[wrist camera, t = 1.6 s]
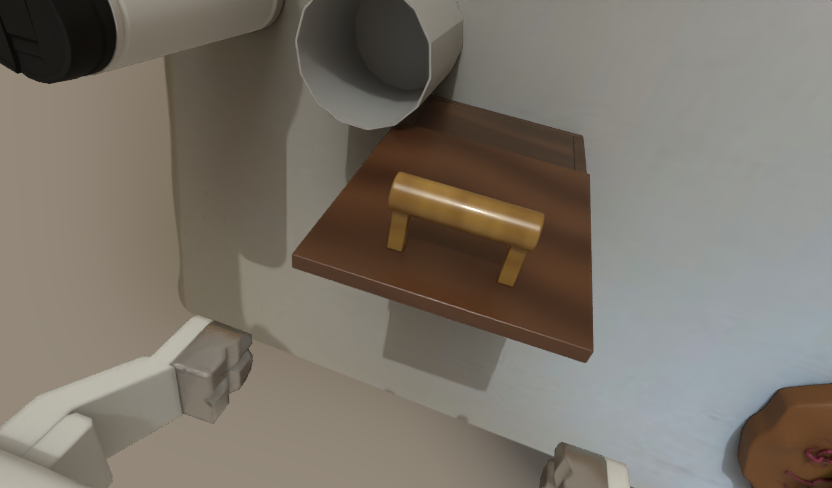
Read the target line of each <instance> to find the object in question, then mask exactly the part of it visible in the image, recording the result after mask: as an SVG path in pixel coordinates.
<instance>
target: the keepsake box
mask: <svg viewBox="0 0 832 488" xmlns="http://www.w3.org/2000/svg"><path fill="white" fill-rule="evenodd" d="M401 122H404V123H408V124H411V125H415V126H418V127H422V128H426V129H429V130H433V131H436V132H440V133H443V134H447V135H451V136H454V137H458V138H461V139H465V140H469V141H472V142H476V143H479V144H483V145H486V146H490V147H494V148H497V149H501V150H504V151H508V152H512V153H515V154H519V155H522V156H526V157H529V158H533V159H537V160H540V161H544V162H547V163H551V164H555V165H558V166H562V167H565V168H569V169H572V170H576V171H580V172H583V173H587V170H586V160H585V149H584V140H583V136H581V135H578V134H574V133H570V132H567V131H563V130H559V129H556V128H552V127H548V126H544V125H541V124H537V123H533V122H530V121H526V120H522V119H519V118H515V117H511V116H507V115H504V114H500V113H496V112H493V111H489V110H485V109H482V108H478V107H474V106H470V105H467V104H463V103H459V102H456V101H452V100H448V99H444V98H441V97H437V96H433V95H429V96H428V97H427V98H426V99H425V100H424V102H423V103H422V104H421V105H420V106H419V107H418V108H417V109H416V110H414V111H413V112H412V113H410V114H409V115H408V116H407V117H405V118H404V119H403V120H402V121H401Z"/></svg>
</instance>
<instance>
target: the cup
mask: <svg viewBox="0 0 832 488" xmlns="http://www.w3.org/2000/svg"><path fill="white" fill-rule="evenodd" d="M295 45H296V51H297V58H298V64H299V71H300V75H301V77H302V78H303V80H304V82H305V84H306V85H307V87H308V89H309V91H310V92H311V94H312V96H313V98H314V100H315V101H316V103H317V104H319V105H320V106H321V107H322V108H324V109H325V110H326V111H327V112H328V113H330V114H331V115H332V116H333V117H334V118H336V119H337V120H338V121H339V122H341V123H345V124H348V125H352V126H355V127H358V128H362V129H365V130H372V129H378V128H384V127H389V126H395V125H397V124H398V123H399V122H400V121H402V120H403V119H404V118H405V117H407V116H408V115H409V114H410V113H412V112H413V111H414V110H416V109H417V108H418V107H419V106H420V105H421V104H422V103H423V102H424V100H425V99H426V98H427V97H428V96H429V95H430V94H431V93H432V92H433V91H434V89H435V88H436V87H437V86H438V85H439V84H440V83H441V82H442V81H443V79H444V78H445V77H446V76H447V75H448V74H449V73H450V72H451V71H452V68H453V66H454V64H455V62H456V60H457V58H458V56H459V54H460V52H461V49H462V47H463V18H462V15H461V13H460V10H459V8H458V5H457V3H456V0H310V1H309V2H308V3H307V4H306V6H305V7H304V8H303V10H302V14H301V18H300V22H299V26H298V30H297V34H296V38H295Z"/></svg>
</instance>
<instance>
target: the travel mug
mask: <svg viewBox="0 0 832 488" xmlns="http://www.w3.org/2000/svg"><path fill="white" fill-rule="evenodd" d="M282 5H283V0H0V63H1V64H2V65H4V66H6V67H7V68H9V69H11V70H12V71H14V72H16V73H17V74H18V73H23V74H24V75H25V76H27V77H28V78H30V79H33V80H35V81H38V82H42V83H48V84H51V83H56V82H61V81H67V80H72V79H77V78H79V77H82V76H87V75H96V74H99V73H102V72H105V71H111V70H114V69H118V68H122V67H125V66H128V65H133V64H136V63H140V62H143V61H147V60H151V59H155V58H158V57H162V56H165V55H169V54H173V53H176V52H180V51H184V50H187V49H191V48H195V47H198V46H202V45H206V44H209V43H213V42H217V41H220V40H224V39H228V38H231V37H235V36H239V35H242V34H246V33H250V32H253V31H257V30H261V29H264V28H266V27H268V26H270V25H271V24H272V23H274V21H275V20H276V19H277V18H278V16H279V14H280V12H281V9H282Z"/></svg>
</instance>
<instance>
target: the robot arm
mask: <svg viewBox="0 0 832 488" xmlns="http://www.w3.org/2000/svg"><path fill="white" fill-rule="evenodd" d="M251 344H252V334H249V333H246V332H244V331H241V330H238V329H236V328H233V327H231V326H228V325H225V324H223V323H220V322H217V321H215V320H212V319H209V318H206V317H204V316H201V315H195V316H193V317H192V318H190V319H189V320H188V321H187V322H186V323H185V324H184V325H183V326H182V327H181V328H180V329H179V330H178V331H177V332H176V333H175V334H174V335H173V336H172V337H171V338H170V339H169V340H168V341H167V342H166V343H164V344H163V345H162V346H161V347H160V348H159V349H158V350H157V351H156V352H155V353H154V354H153V355H152V356H151V357H147V356H143V357H141V358H138V359H135V360H132V361H130V362H127V363H124V364H122V365H119V366H116V367H113V368H111V369H108V370H106V371H103V372H100V373H97V374H94V375H92V376H89V377H86V378H84V379H81V380H78V381H76V382H73V383H70V384H67V385H65V386H62V387H59V388H57V389H54V390H51V391H49V392H46V393H43V394H40V395H38V396H37V397H35V398H34V399H33V400H32V401H31V402H30V403H28V404H27V405H26V406H25V407H24V408H22V409H21V410H20V411H19V412H18V413H17V414H15V415H14V416H13V417H12V418H11V419H9V420H8V421H7V422H6V423H5V424H3V425H2V426H1V427H0V488H108V487H109V486H110V484H111V483H112V473H111V470H110V468H109V465H108V462H107V458H109V457H110V456H112V455H114V454H116V453H117V452H119V451H121V450H123V449H125V448H126V447H128V446H130V445H132V444H133V443H135V442H137V441H139V440H140V439H142V438H144V437H146V436H147V435H149V434H151V433H153V432H155V431H156V430H158V429H160V428H162V427H163V426H165V425H167V424H169V423H170V422H172V421H174V420H175V419H177V418H179V417H181V416H182V415H183V414H186V415H189V416H192V417H195V418H197V419H200V420H203V421H206V422H209V423H212V424H214V423H215V421H216V420H217V419H218V417H219V416H220V415H221V413H222V412H223V411H224V409H225V408H226V407H227V405H228V404H229V394H230V393H232V392H234V391H236V390H239V389H240V388H241V386H242V385H243V383H244V382H245V381H246V379H247V377H248V374H249V372H250V370H251V366H252V362H253V360H252V359H253V357H252V356H253V355H252V354H251V352H250V351H249V349H248V348H249V347H250V345H251ZM182 413H183V414H182ZM539 488H630V481H629V474H628V468H627V466H626V465H625V464H624V463H621V462H618V461H615V460H612V459H609V458H607V457H603V456H602V455H600V454H597V453H594V452H591V451H588V450H585V449H582V448H579V447H576V446H573V445H570V444H567V443H564V442H561V443H559V444H558V445H557V447H556V448H555V456H554V458H553V459H550V460H548V461H547V463H546V465H545V467H544V469H543V472H542V475H541V478H540V485H539Z"/></svg>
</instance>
